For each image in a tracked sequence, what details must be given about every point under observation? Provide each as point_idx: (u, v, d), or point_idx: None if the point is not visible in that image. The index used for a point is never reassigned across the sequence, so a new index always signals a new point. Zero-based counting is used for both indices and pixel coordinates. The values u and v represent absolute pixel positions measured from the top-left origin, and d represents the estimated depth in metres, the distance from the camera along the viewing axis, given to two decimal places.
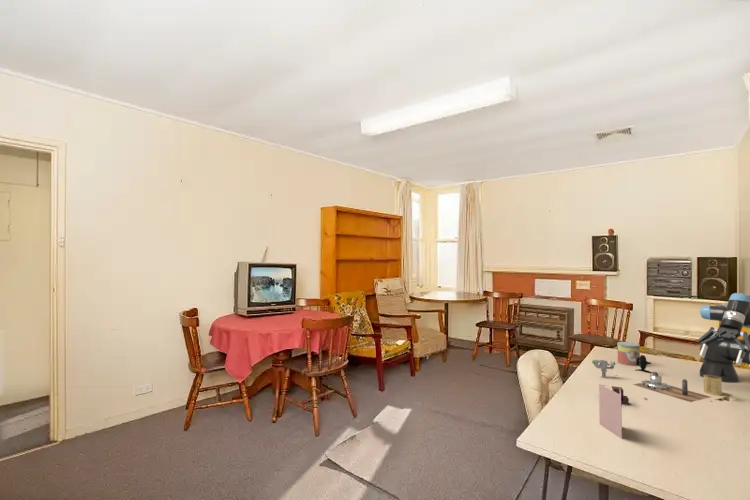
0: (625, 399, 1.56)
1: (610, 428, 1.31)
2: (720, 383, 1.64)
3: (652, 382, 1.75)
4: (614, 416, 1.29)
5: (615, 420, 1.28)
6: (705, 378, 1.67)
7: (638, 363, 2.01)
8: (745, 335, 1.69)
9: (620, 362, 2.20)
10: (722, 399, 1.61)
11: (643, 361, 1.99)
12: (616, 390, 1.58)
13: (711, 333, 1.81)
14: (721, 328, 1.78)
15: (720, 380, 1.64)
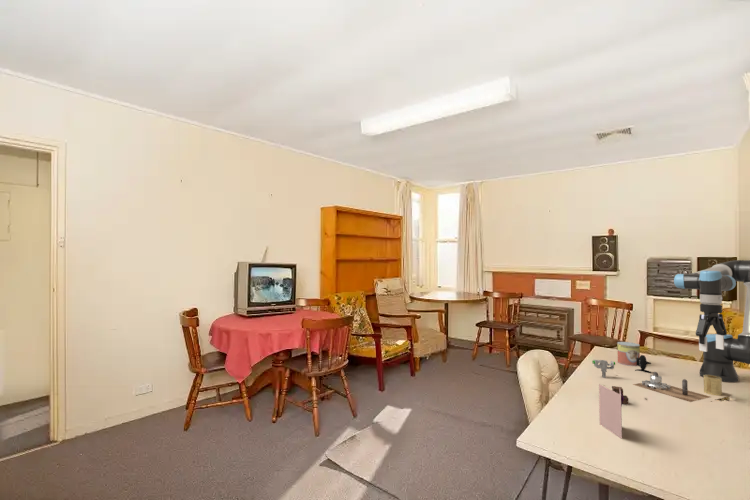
0: (625, 399, 1.56)
1: (610, 428, 1.31)
2: (720, 383, 1.64)
3: (652, 382, 1.75)
4: (614, 416, 1.29)
5: (615, 420, 1.28)
6: (705, 378, 1.67)
7: (638, 363, 2.01)
8: (722, 318, 1.70)
9: (620, 362, 2.20)
10: (722, 399, 1.61)
11: (643, 361, 1.99)
12: (616, 390, 1.58)
13: None
14: (710, 314, 1.66)
15: (720, 380, 1.64)
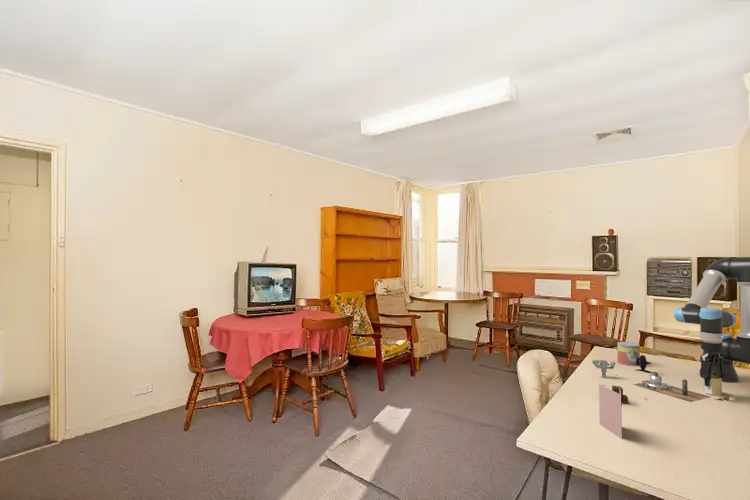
0: (624, 398, 1.57)
1: (610, 428, 1.31)
2: (720, 383, 1.64)
3: (652, 382, 1.75)
4: (614, 416, 1.29)
5: (615, 420, 1.28)
6: None
7: (638, 363, 2.01)
8: (722, 358, 1.68)
9: (620, 362, 2.20)
10: (722, 399, 1.61)
11: (643, 361, 1.99)
12: (616, 389, 1.59)
13: None
14: (710, 353, 1.65)
15: (720, 380, 1.64)
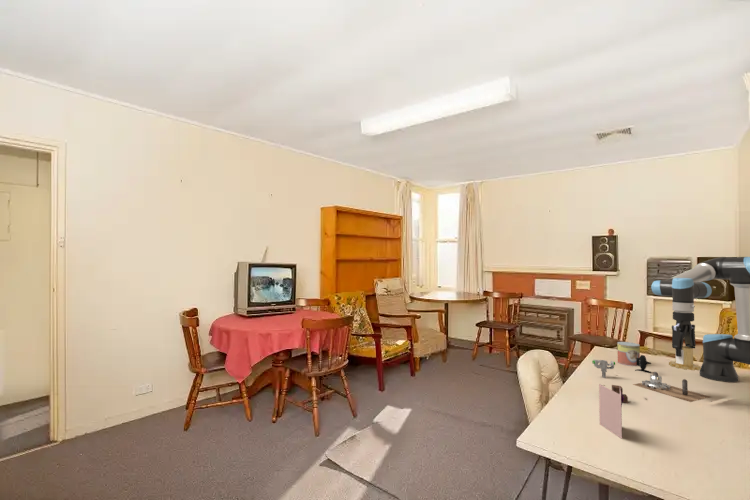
0: (624, 397, 1.58)
1: (610, 428, 1.31)
2: (691, 353, 1.62)
3: (652, 382, 1.75)
4: (614, 416, 1.29)
5: (615, 420, 1.28)
6: None
7: (638, 363, 2.01)
8: (694, 329, 1.67)
9: (620, 362, 2.20)
10: (693, 369, 1.59)
11: (643, 361, 1.99)
12: (615, 388, 1.59)
13: None
14: (682, 322, 1.63)
15: (691, 350, 1.62)
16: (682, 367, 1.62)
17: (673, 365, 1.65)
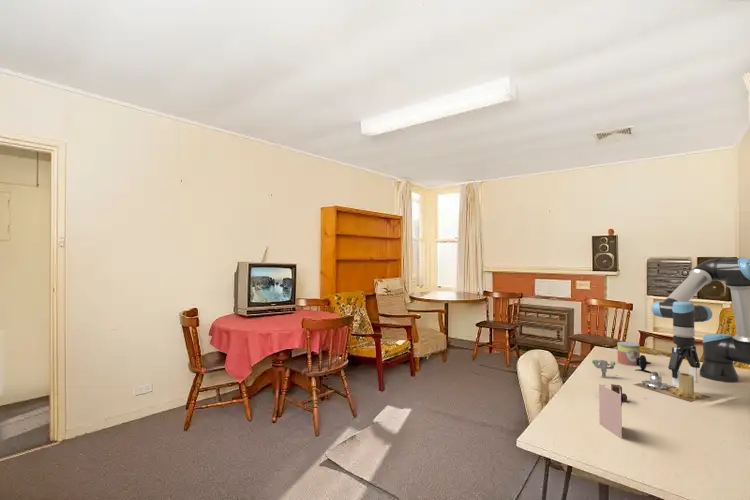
0: (624, 397, 1.59)
1: (610, 428, 1.31)
2: (692, 381, 1.62)
3: (652, 382, 1.75)
4: (614, 416, 1.29)
5: (615, 420, 1.28)
6: None
7: (638, 363, 2.01)
8: (695, 350, 1.67)
9: (620, 362, 2.20)
10: (694, 397, 1.59)
11: (643, 361, 1.99)
12: (615, 388, 1.60)
13: None
14: (683, 347, 1.63)
15: (692, 378, 1.62)
16: (683, 395, 1.61)
17: (674, 393, 1.64)
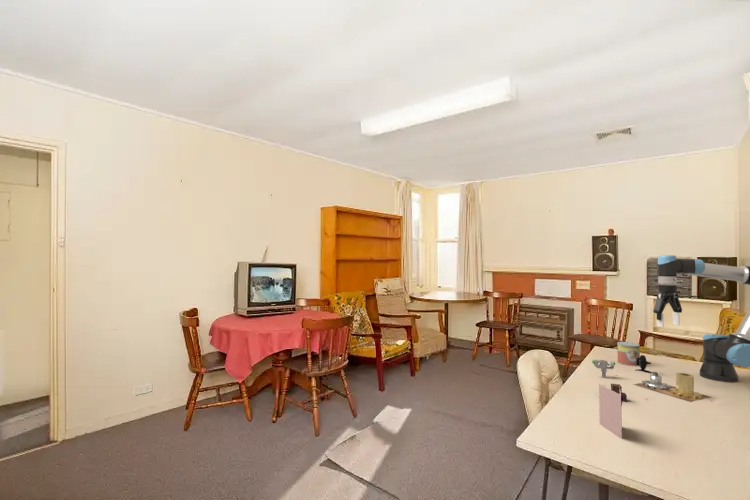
0: (623, 396, 1.60)
1: (610, 428, 1.31)
2: (692, 381, 1.62)
3: (652, 382, 1.75)
4: (614, 416, 1.29)
5: (615, 420, 1.28)
6: (677, 376, 1.65)
7: (638, 363, 2.01)
8: (677, 297, 1.91)
9: (620, 362, 2.20)
10: (694, 397, 1.59)
11: (643, 361, 1.99)
12: (614, 387, 1.61)
13: None
14: (666, 294, 1.87)
15: (692, 378, 1.62)
16: (683, 395, 1.61)
17: (674, 393, 1.64)
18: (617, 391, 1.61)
